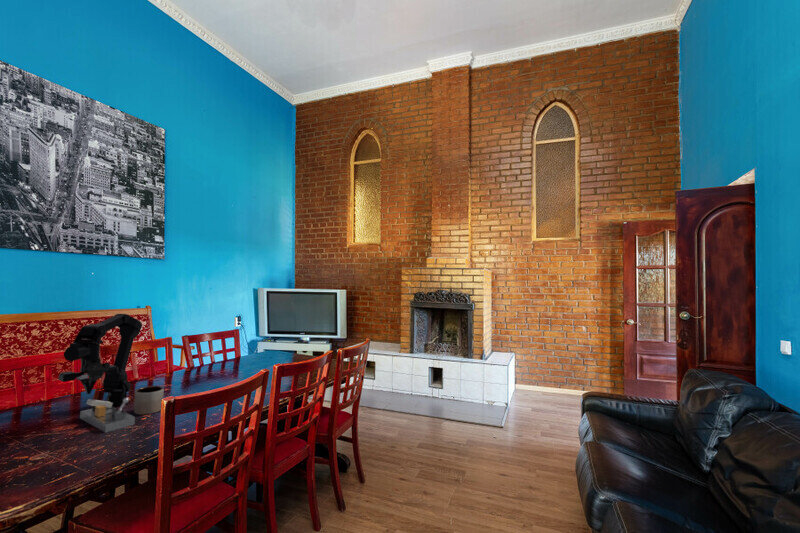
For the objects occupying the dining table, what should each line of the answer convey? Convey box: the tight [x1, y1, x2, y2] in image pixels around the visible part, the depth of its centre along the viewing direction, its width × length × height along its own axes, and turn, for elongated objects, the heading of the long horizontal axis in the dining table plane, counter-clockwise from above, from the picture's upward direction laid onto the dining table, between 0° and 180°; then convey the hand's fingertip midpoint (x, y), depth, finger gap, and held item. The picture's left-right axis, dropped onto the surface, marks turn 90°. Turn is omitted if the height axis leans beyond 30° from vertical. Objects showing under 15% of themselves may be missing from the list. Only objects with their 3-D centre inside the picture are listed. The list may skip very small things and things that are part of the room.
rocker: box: [86, 398, 113, 408], centre depth 162 cm, size 8×4×2 cm, turn 148°
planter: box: [133, 385, 165, 416], centre depth 171 cm, size 11×11×10 cm
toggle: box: [114, 397, 130, 416], centre depth 154 cm, size 2×2×8 cm
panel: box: [79, 405, 136, 433], centre depth 158 cm, size 10×24×5 cm, turn 58°
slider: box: [95, 405, 106, 417], centre depth 155 cm, size 2×3×4 cm
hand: (88, 393), depth 159 cm, fingers closed
